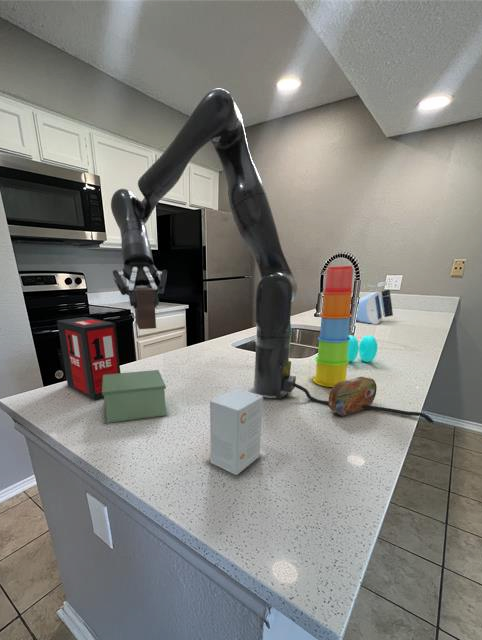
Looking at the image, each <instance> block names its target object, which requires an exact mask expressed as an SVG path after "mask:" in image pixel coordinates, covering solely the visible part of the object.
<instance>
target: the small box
mask: <svg viewBox="0 0 482 640" xmlns="http://www.w3.org/2000/svg"><path fill="white" fill-rule="evenodd" d="M263 405H264V397H263V396H261V395H258V394H255V393H254V392H251V391H247V390H243V389H240V388H234V389H232V390H230V391H228V392H225V393H223V394H221V395H219V396H218V397H216V398H214V399H212V400H210V401H209V423H210V425H209V426H210V427H209V428H210V429H209V430H210V431H209V433H210V435H209V436H210V437H209V438H210V440H209V441H210V443H209V444H210V463H211V464H212V465H214V466H216V467H218V468H221V469H222V470H225V471H227V472H229V473H230V474H233V475H235V476H238V475H239V474H240V473H241V472H243V471H244V470H246V468H247V467H249V466H250V465H251V464H252V463H253V462H255V461H256V460H257V459H258V458H259V457H260V456H261V442H262V441H261V438H262V422H263V407H264V406H263Z"/></svg>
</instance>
